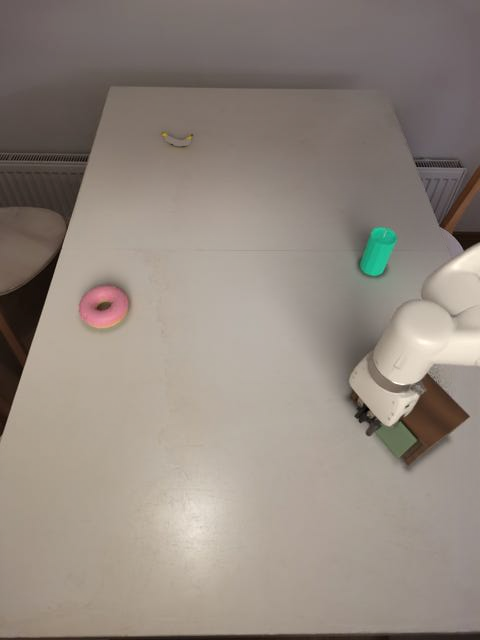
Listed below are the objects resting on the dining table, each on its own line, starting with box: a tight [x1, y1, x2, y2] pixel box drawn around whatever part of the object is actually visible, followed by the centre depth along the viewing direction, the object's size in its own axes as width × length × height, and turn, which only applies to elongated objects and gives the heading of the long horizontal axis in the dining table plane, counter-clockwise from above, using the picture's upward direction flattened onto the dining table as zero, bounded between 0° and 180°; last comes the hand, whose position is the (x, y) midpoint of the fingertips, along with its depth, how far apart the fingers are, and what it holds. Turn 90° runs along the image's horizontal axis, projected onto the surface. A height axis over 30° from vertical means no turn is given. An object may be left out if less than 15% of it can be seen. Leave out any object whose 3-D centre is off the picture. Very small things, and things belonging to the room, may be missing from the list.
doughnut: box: [77, 284, 130, 329], centre depth 96 cm, size 11×11×4 cm
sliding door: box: [364, 418, 417, 460], centre depth 77 cm, size 4×7×9 cm, turn 33°
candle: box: [359, 226, 398, 277], centre depth 102 cm, size 6×6×12 cm
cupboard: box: [350, 372, 471, 467], centre depth 80 cm, size 10×16×10 cm, turn 33°
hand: (363, 416), depth 77 cm, fingers closed
